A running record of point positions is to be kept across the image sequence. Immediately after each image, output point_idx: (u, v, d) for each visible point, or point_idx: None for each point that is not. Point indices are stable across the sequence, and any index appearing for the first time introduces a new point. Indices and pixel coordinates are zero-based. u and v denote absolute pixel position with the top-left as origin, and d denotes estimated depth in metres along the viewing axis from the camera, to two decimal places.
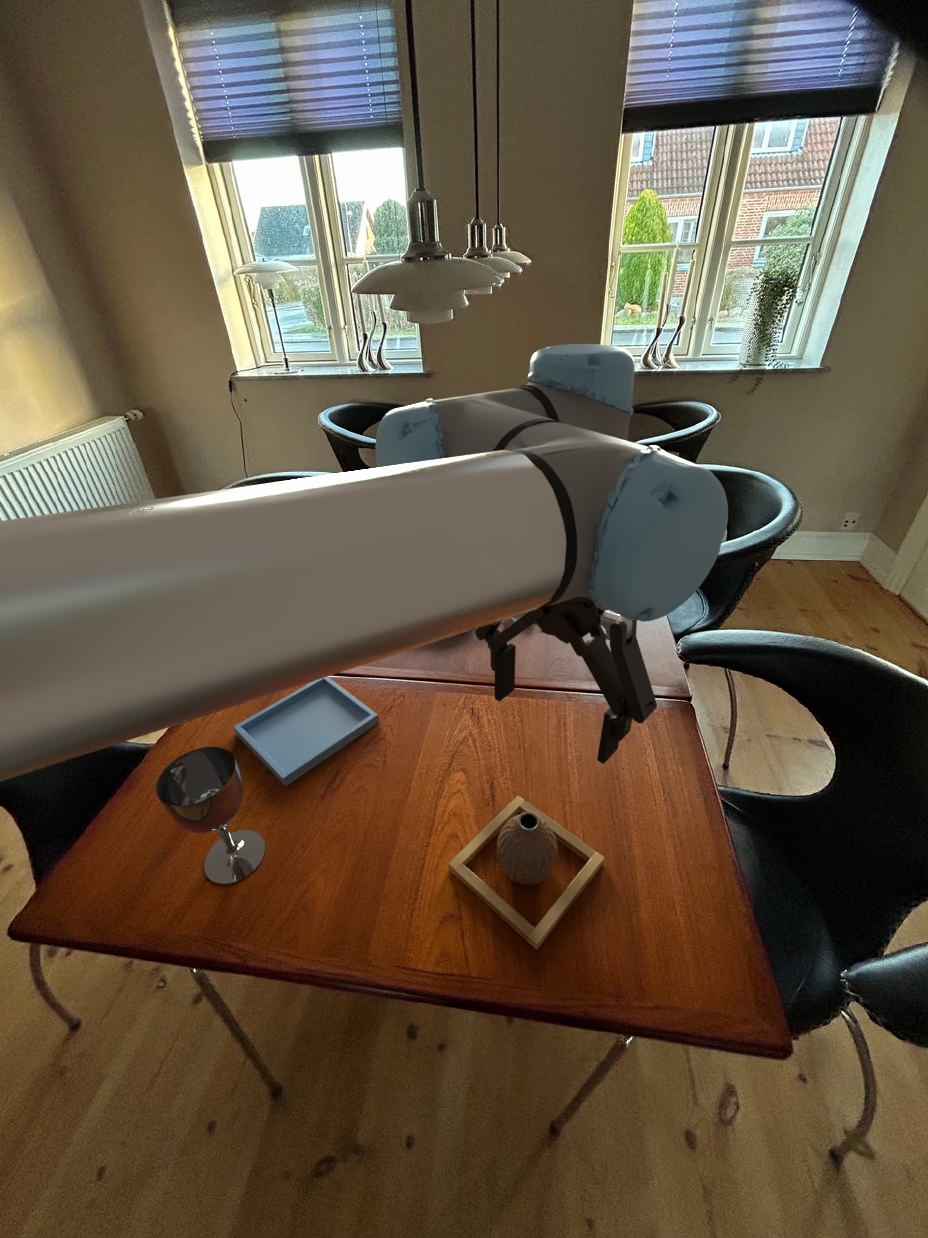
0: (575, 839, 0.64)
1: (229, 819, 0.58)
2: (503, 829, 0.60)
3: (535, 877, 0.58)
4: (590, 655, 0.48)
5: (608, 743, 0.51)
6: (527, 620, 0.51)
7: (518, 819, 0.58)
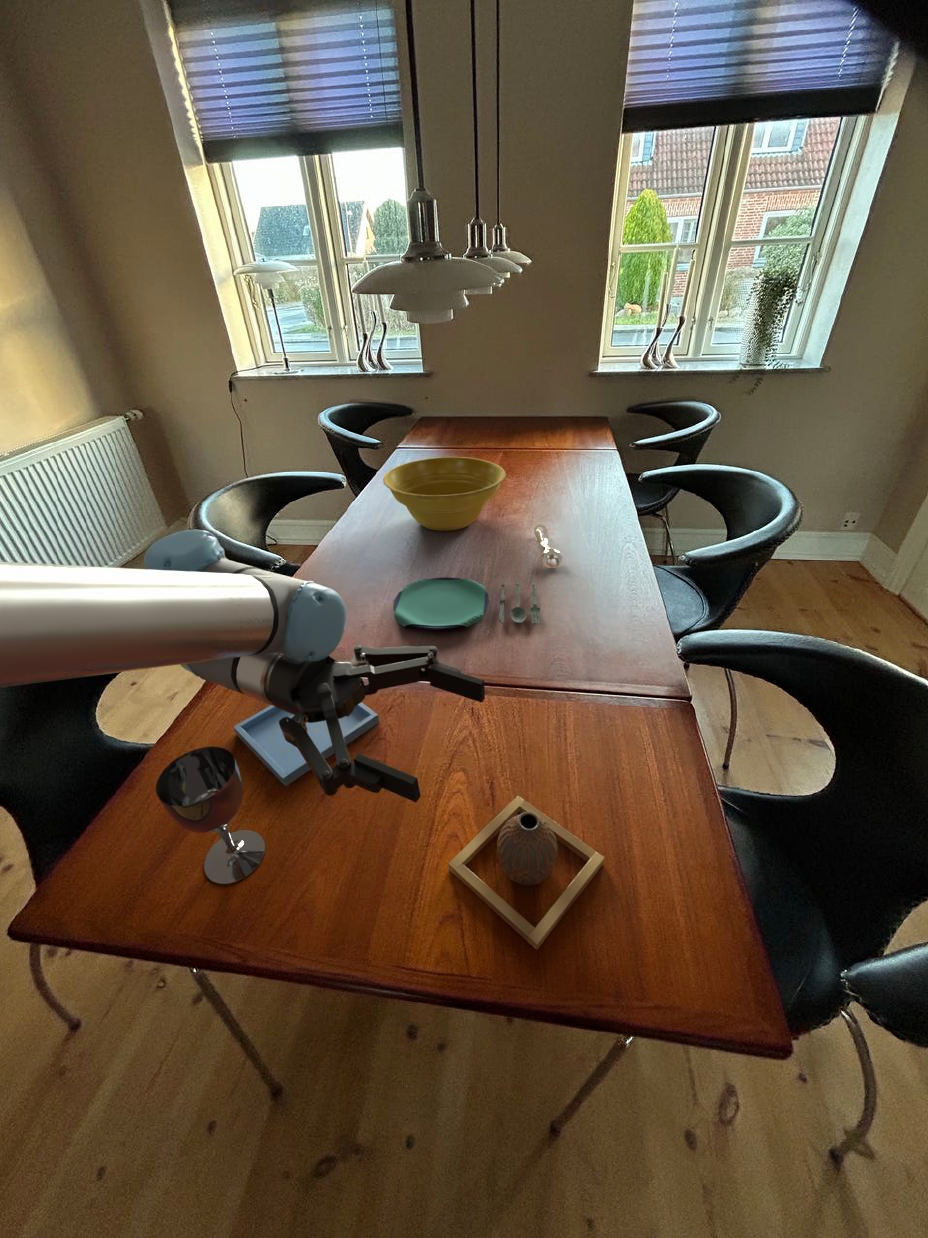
0: (575, 839, 0.64)
1: (229, 819, 0.58)
2: (503, 829, 0.60)
3: (535, 877, 0.58)
4: (374, 667, 0.59)
5: None
6: (327, 702, 0.54)
7: (518, 819, 0.58)
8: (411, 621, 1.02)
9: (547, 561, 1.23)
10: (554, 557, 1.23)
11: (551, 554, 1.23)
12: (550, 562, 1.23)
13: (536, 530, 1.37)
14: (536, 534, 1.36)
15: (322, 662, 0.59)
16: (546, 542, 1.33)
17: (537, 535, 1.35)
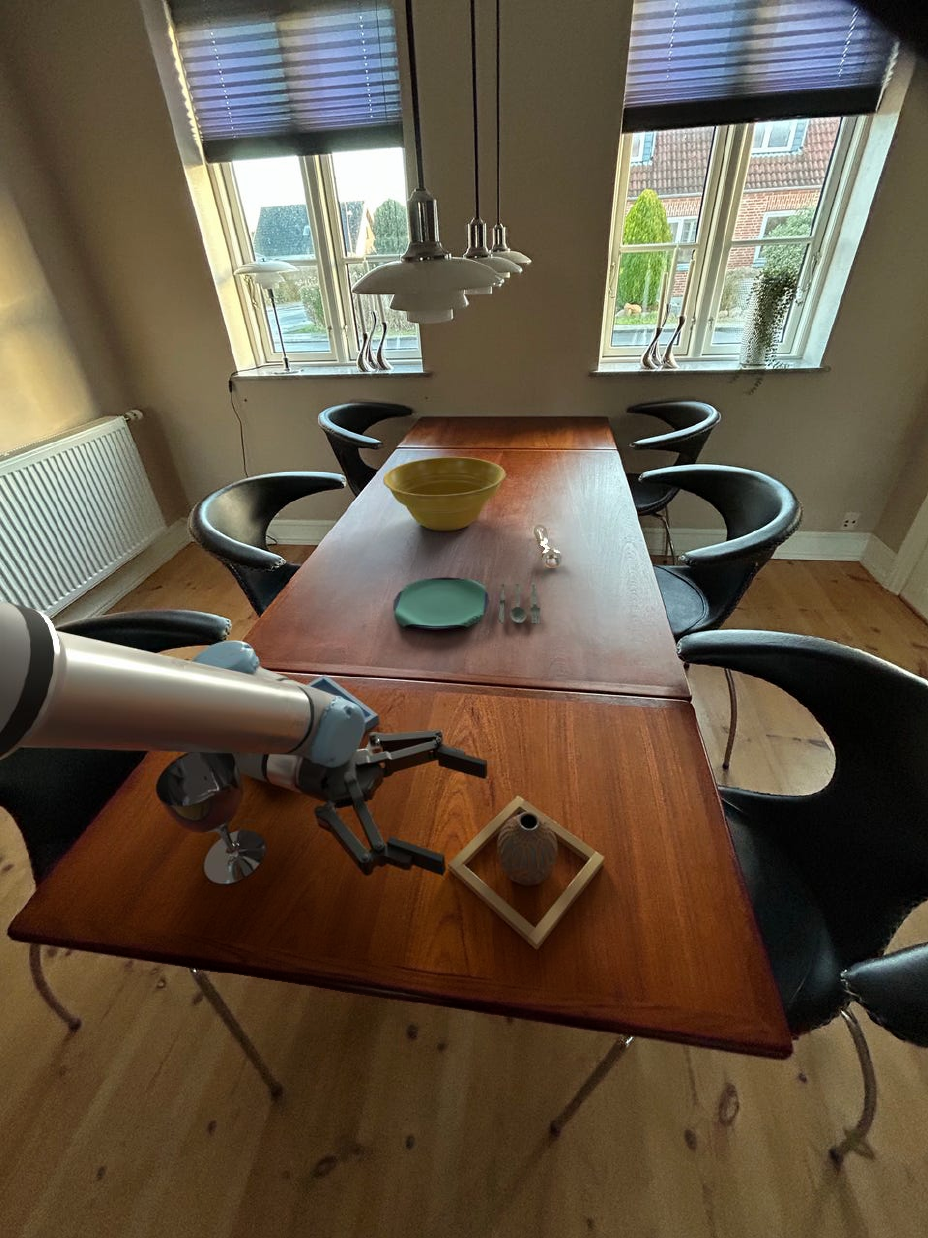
0: (575, 839, 0.64)
1: (229, 819, 0.58)
2: (503, 829, 0.60)
3: (535, 877, 0.58)
4: (390, 753, 0.68)
5: None
6: (355, 790, 0.63)
7: (518, 819, 0.58)
8: (411, 621, 1.02)
9: (547, 561, 1.23)
10: (554, 557, 1.23)
11: (551, 554, 1.23)
12: (549, 562, 1.23)
13: (536, 530, 1.37)
14: (536, 534, 1.36)
15: None
16: (546, 542, 1.33)
17: (537, 535, 1.35)
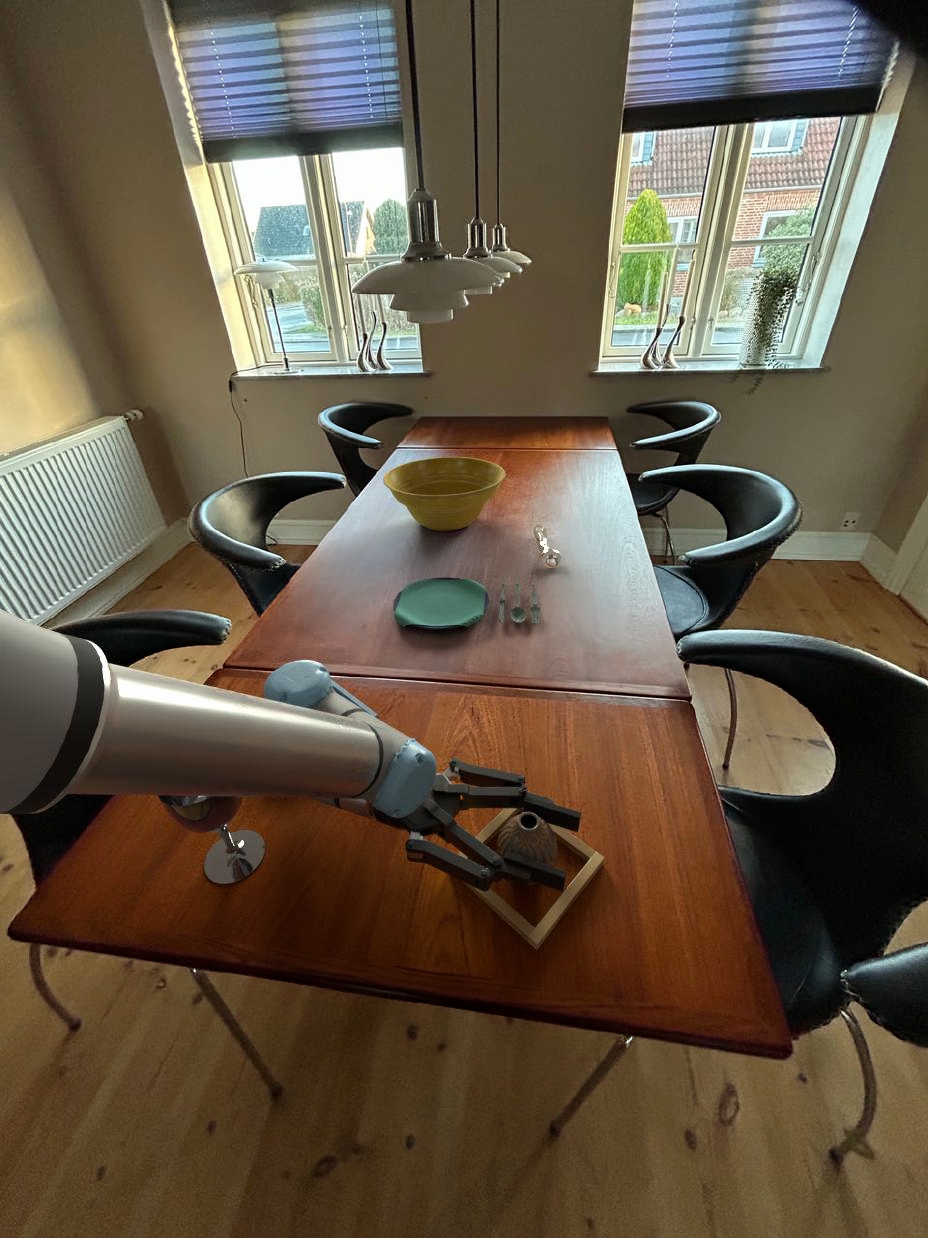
0: (575, 839, 0.64)
1: (229, 819, 0.58)
2: (503, 829, 0.60)
3: None
4: (470, 787, 0.63)
5: None
6: (442, 815, 0.60)
7: (518, 819, 0.58)
8: (411, 621, 1.02)
9: (546, 561, 1.23)
10: (553, 557, 1.23)
11: (550, 554, 1.23)
12: (549, 562, 1.23)
13: (535, 530, 1.37)
14: (535, 534, 1.36)
15: None
16: (545, 542, 1.33)
17: (536, 535, 1.35)
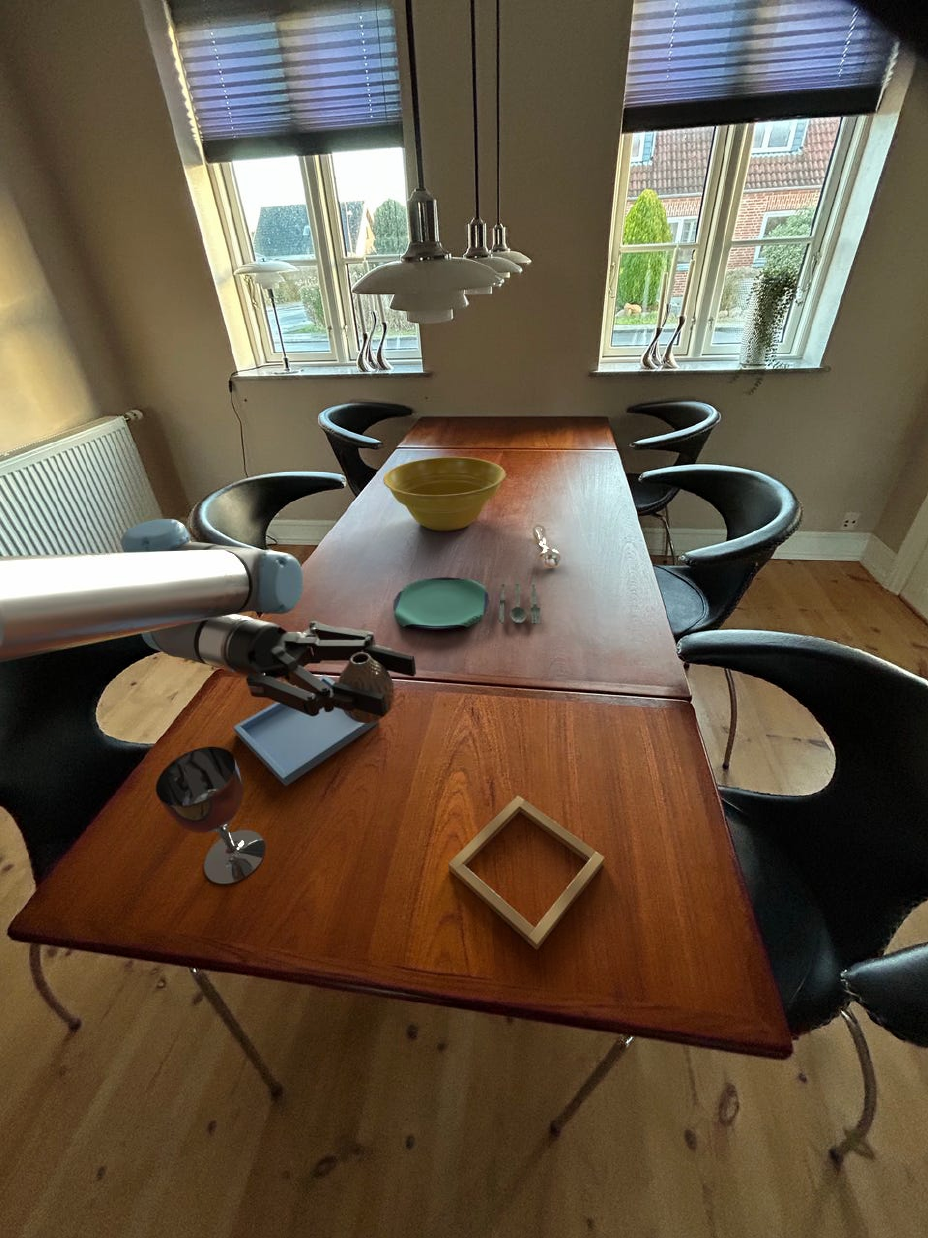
0: (575, 839, 0.64)
1: (229, 819, 0.58)
2: (342, 671, 0.65)
3: None
4: (320, 640, 0.69)
5: None
6: (286, 658, 0.65)
7: (351, 657, 0.63)
8: (411, 621, 1.02)
9: (546, 562, 1.23)
10: (553, 557, 1.23)
11: (550, 554, 1.23)
12: (548, 562, 1.23)
13: (534, 530, 1.37)
14: (534, 534, 1.36)
15: (274, 631, 0.69)
16: (544, 542, 1.33)
17: (536, 535, 1.35)
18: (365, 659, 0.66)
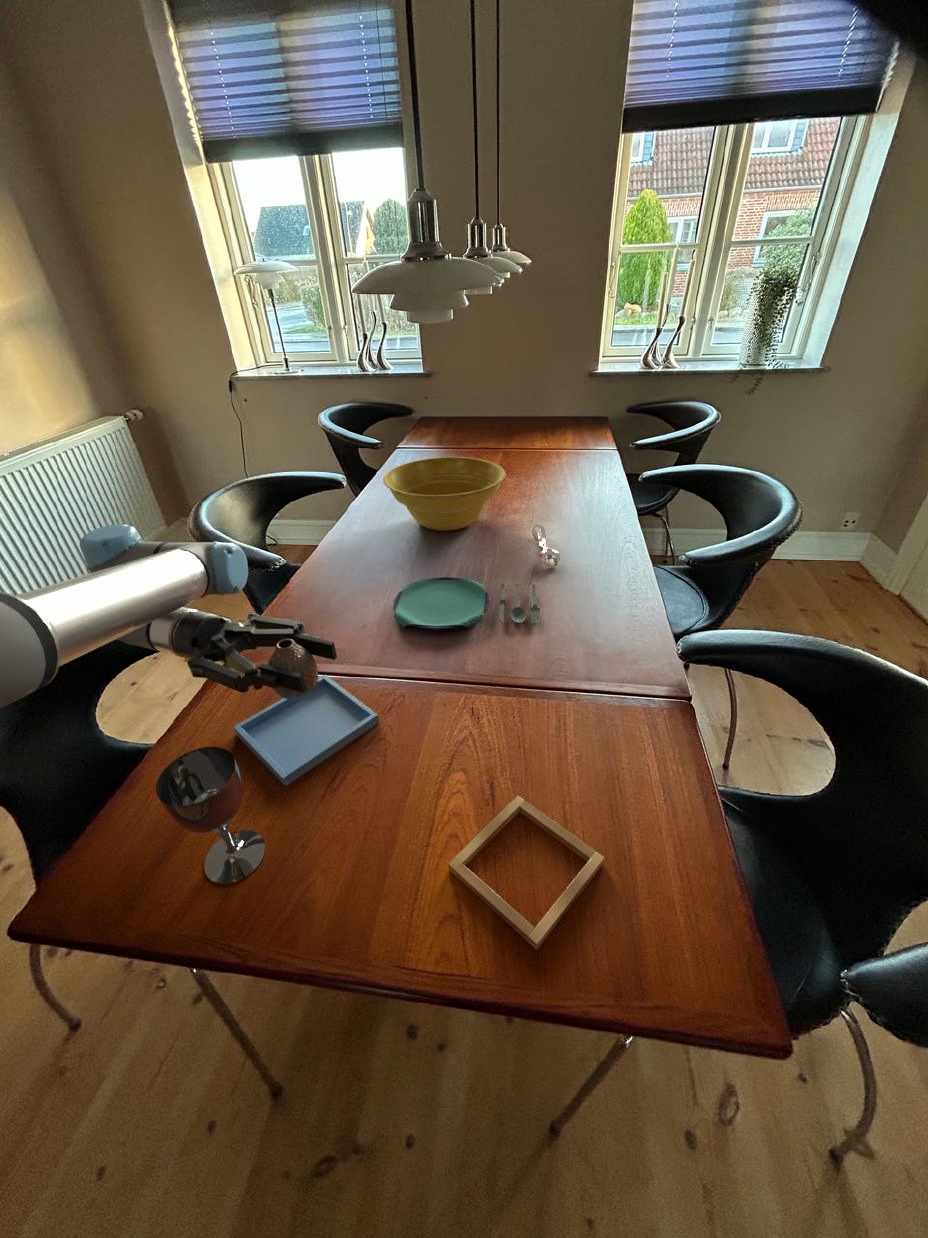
0: (575, 839, 0.64)
1: (229, 819, 0.58)
2: None
3: None
4: (256, 629, 0.79)
5: None
6: (223, 644, 0.75)
7: None
8: (411, 621, 1.02)
9: (545, 562, 1.23)
10: (552, 557, 1.23)
11: (549, 554, 1.23)
12: (548, 562, 1.23)
13: (534, 530, 1.37)
14: (534, 534, 1.36)
15: (216, 621, 0.79)
16: (544, 542, 1.33)
17: (535, 535, 1.35)
18: None
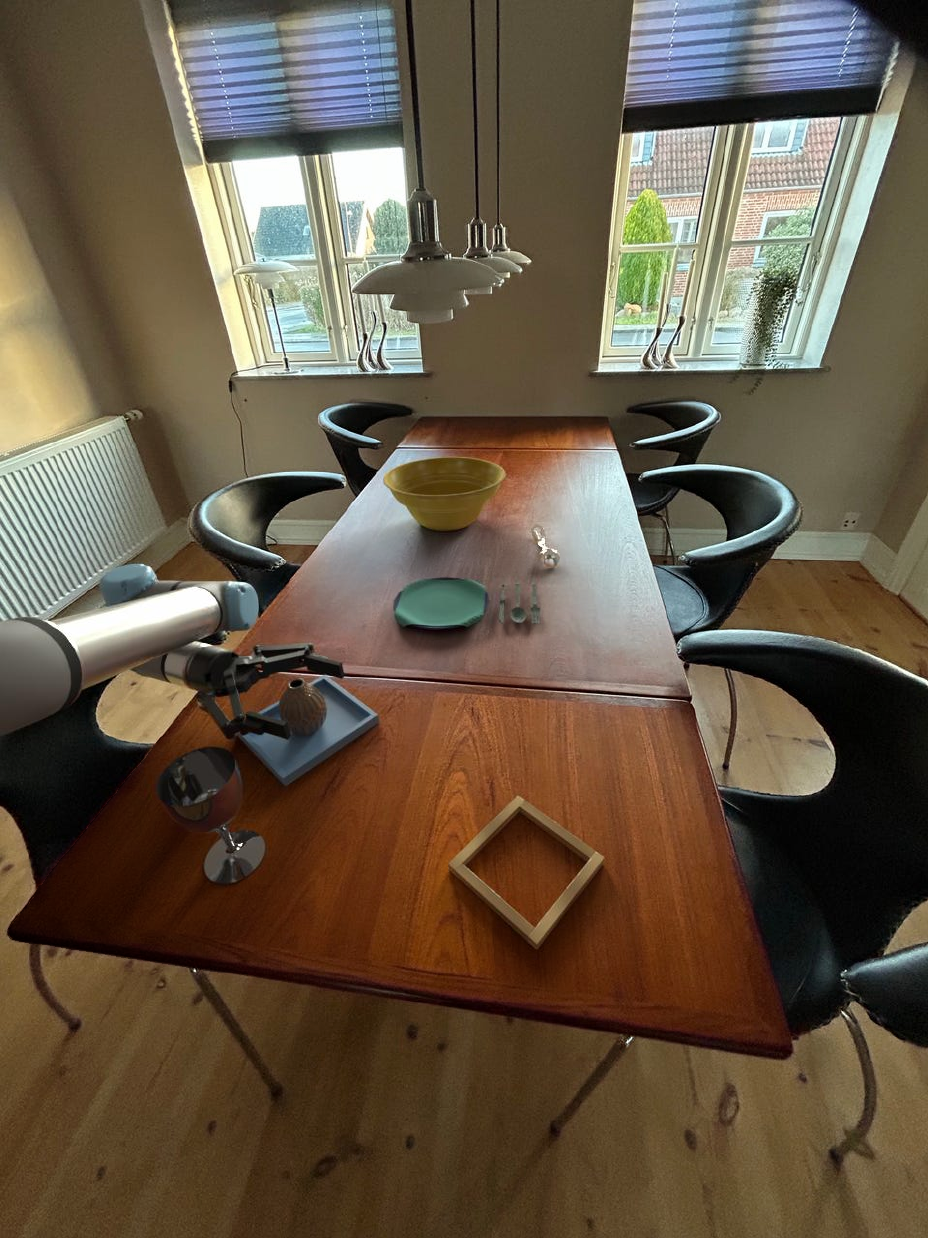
0: (575, 839, 0.64)
1: (229, 819, 0.58)
2: None
3: (301, 726, 0.78)
4: (266, 658, 0.84)
5: None
6: (230, 681, 0.79)
7: (289, 682, 0.78)
8: (411, 621, 1.02)
9: (545, 562, 1.23)
10: (552, 557, 1.23)
11: (549, 554, 1.23)
12: (548, 562, 1.23)
13: (533, 530, 1.37)
14: (533, 534, 1.36)
15: (228, 656, 0.83)
16: (543, 542, 1.33)
17: (534, 535, 1.35)
18: None
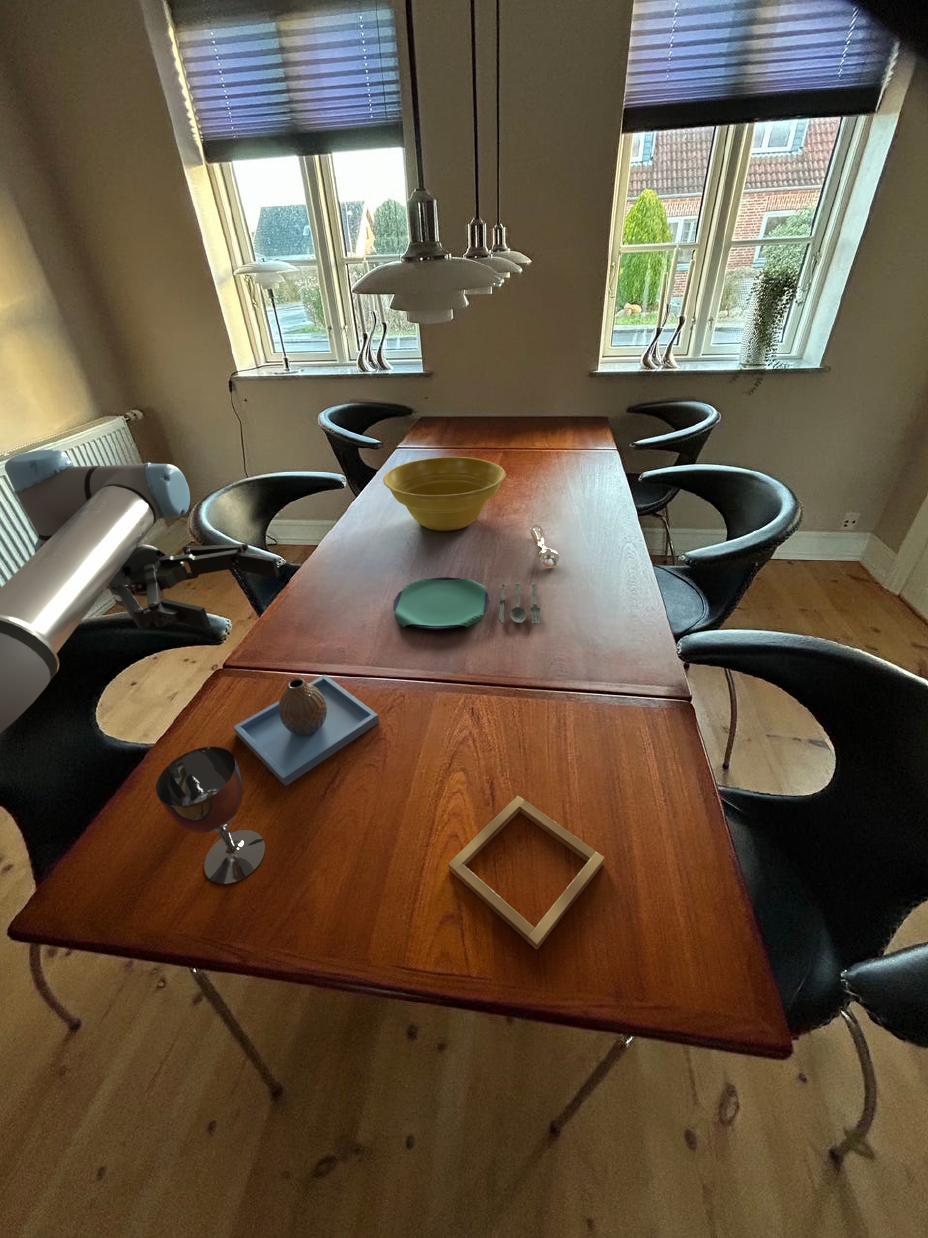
0: (575, 839, 0.64)
1: (229, 819, 0.58)
2: None
3: (301, 726, 0.78)
4: (195, 556, 0.77)
5: None
6: (149, 574, 0.72)
7: (289, 682, 0.78)
8: (411, 621, 1.02)
9: (544, 562, 1.23)
10: (551, 557, 1.23)
11: (548, 554, 1.23)
12: (547, 562, 1.23)
13: (532, 530, 1.37)
14: (532, 534, 1.36)
15: (152, 553, 0.76)
16: (542, 542, 1.33)
17: (534, 535, 1.35)
18: None
